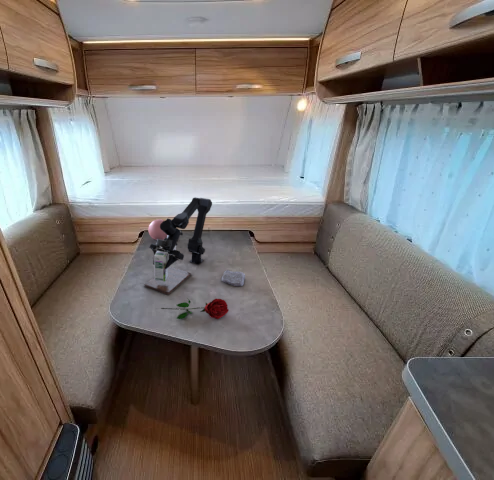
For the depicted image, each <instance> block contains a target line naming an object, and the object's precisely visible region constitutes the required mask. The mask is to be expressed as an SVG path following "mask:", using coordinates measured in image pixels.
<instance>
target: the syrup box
mask: <svg viewBox="0 0 494 480" xmlns="http://www.w3.org/2000/svg"><path fill="white" fill-rule="evenodd" d="M168 259H169V254H168V252H163V251H157V252H156V254H155V255H154V254H153V260H154V265H153V267H154V277H155V280H158V281H164V282H165V281H166V278H167V276H168V268H167V269H165V266H166V263H167V261H168Z"/></svg>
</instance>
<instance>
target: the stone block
mask: <svg viewBox="0 0 494 480" xmlns="http://www.w3.org/2000/svg"><path fill="white" fill-rule="evenodd" d="M245 278H246V274H245V273H244V272H243V271H231V270H229V269H226V270H225V271H224V272H223V273H222V276H221V282H223V283H225V284H228V285H230V286H234V287H242V286H243V285H244V283H245Z"/></svg>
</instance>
